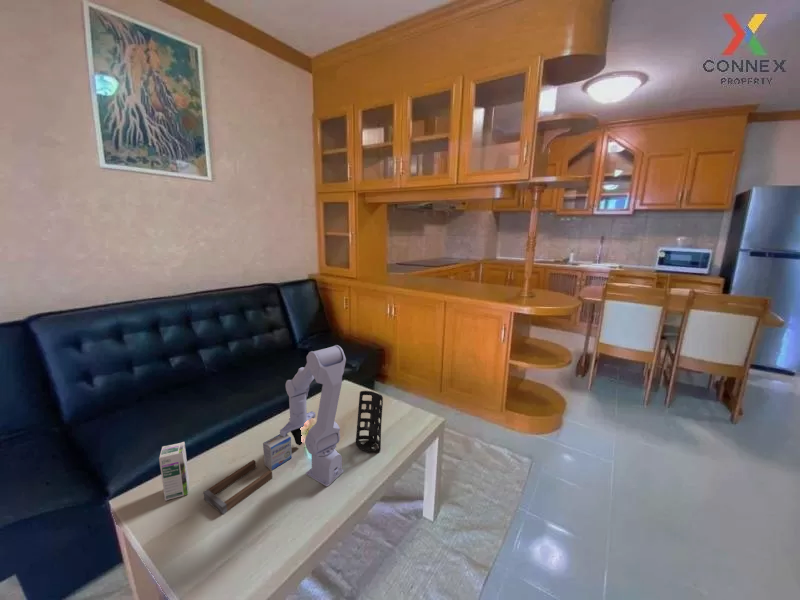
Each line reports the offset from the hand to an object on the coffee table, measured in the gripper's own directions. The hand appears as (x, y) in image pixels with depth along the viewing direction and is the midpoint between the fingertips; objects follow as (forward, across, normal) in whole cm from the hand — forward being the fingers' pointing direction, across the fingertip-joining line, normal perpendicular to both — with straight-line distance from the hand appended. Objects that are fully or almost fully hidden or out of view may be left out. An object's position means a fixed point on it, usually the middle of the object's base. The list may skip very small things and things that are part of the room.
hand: (299, 443), depth 120 cm
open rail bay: (+1, +23, 0) cm, 23 cm away
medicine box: (+2, +9, 0) cm, 9 cm away
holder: (+2, -16, +20) cm, 26 cm away
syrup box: (+2, +34, -14) cm, 37 cm away
